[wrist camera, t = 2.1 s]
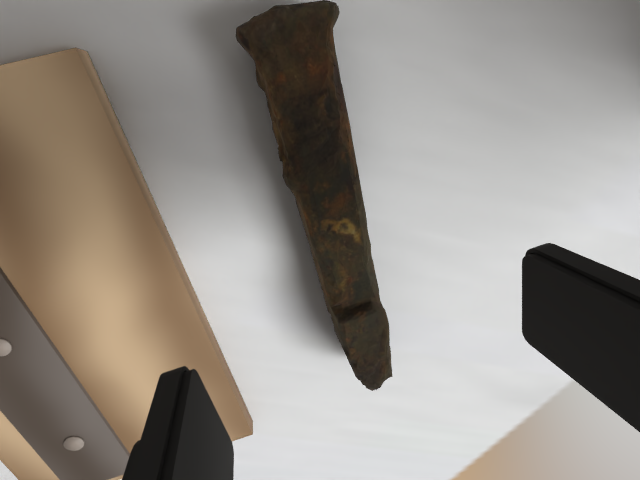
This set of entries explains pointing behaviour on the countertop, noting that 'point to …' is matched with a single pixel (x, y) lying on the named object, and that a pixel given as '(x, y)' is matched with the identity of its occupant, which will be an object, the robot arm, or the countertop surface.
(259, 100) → the countertop surface
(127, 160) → the plywood panel
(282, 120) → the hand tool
